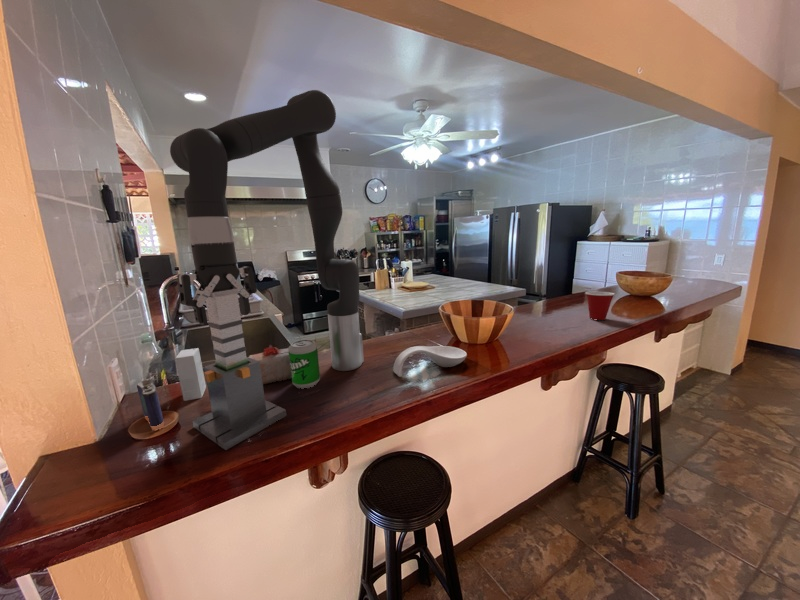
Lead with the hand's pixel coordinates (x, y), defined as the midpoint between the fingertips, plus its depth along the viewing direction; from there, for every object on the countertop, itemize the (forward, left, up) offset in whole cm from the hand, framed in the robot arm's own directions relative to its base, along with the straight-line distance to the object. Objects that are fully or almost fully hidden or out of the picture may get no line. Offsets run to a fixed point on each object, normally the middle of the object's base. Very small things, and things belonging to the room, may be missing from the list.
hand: (225, 319), depth 67 cm
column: (0, 0, -18) cm, 18 cm away
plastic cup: (-128, +60, -24) cm, 143 cm away
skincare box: (0, -23, -24) cm, 33 cm away
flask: (+11, -17, -24) cm, 32 cm away
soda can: (-20, -2, -24) cm, 32 cm away
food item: (-17, -13, -24) cm, 32 cm away
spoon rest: (-48, +22, -25) cm, 58 cm away
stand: (0, 0, -24) cm, 24 cm away
